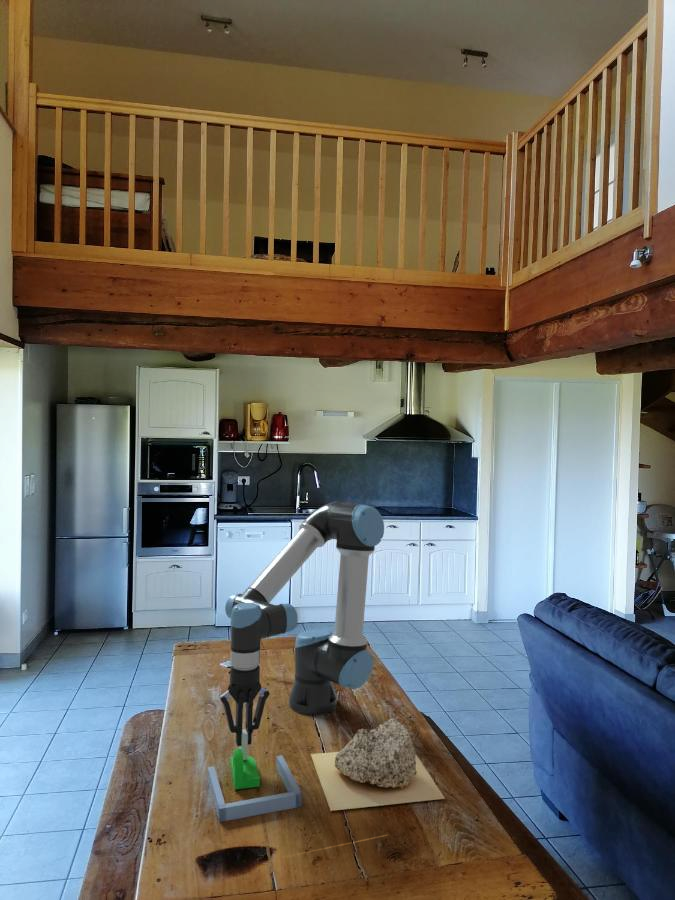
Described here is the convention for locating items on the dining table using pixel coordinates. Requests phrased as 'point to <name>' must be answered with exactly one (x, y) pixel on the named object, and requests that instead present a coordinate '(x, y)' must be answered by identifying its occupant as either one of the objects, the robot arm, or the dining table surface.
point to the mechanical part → (244, 771)
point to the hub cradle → (257, 804)
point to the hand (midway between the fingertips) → (243, 757)
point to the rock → (375, 770)
